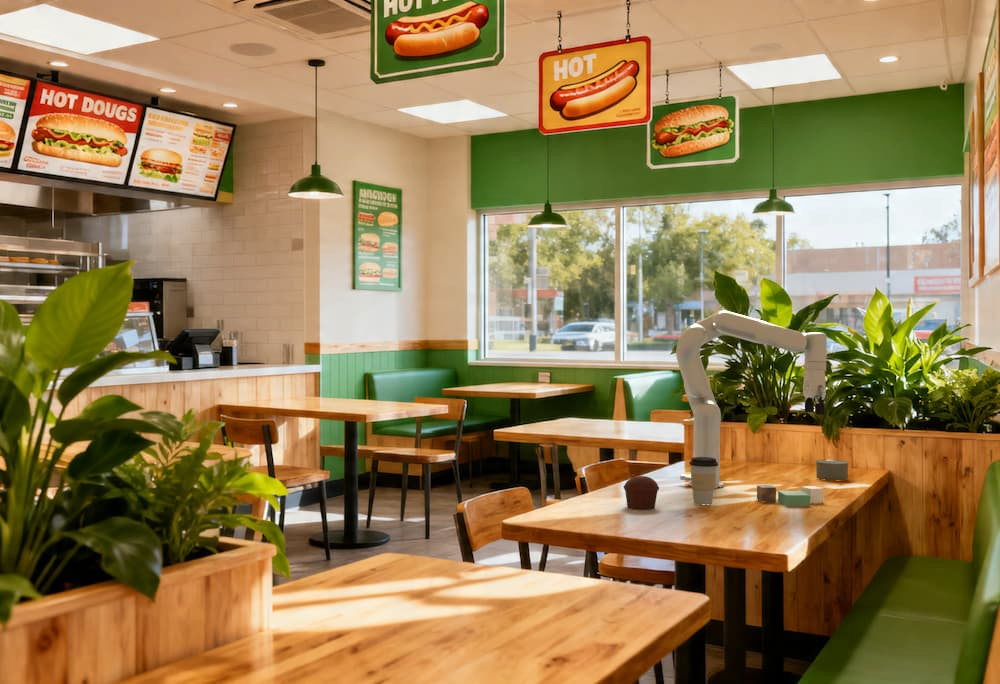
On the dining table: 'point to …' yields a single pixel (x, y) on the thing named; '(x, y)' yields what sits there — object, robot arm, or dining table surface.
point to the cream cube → (814, 493)
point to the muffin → (641, 493)
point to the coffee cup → (703, 479)
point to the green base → (793, 498)
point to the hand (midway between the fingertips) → (814, 413)
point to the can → (832, 469)
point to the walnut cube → (766, 493)
